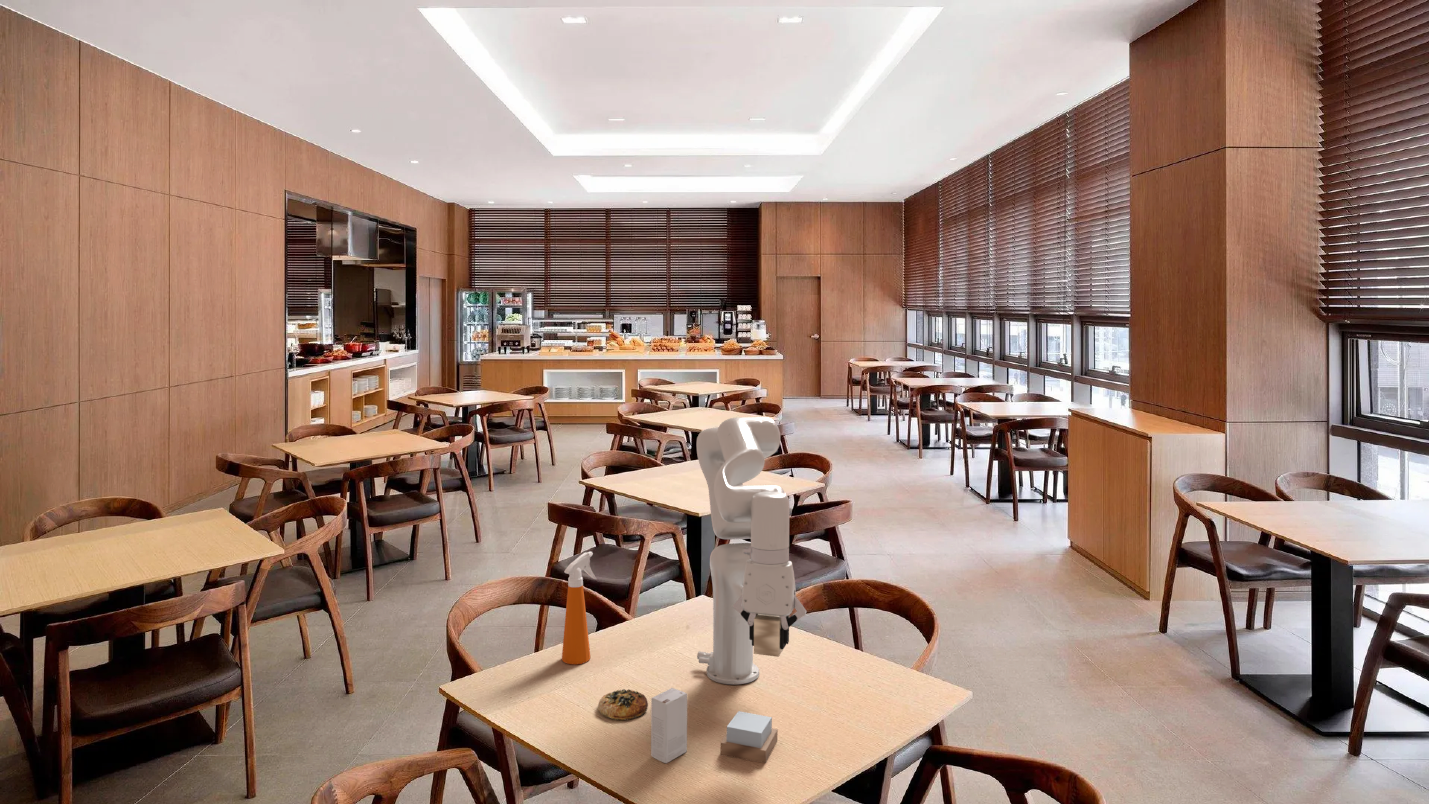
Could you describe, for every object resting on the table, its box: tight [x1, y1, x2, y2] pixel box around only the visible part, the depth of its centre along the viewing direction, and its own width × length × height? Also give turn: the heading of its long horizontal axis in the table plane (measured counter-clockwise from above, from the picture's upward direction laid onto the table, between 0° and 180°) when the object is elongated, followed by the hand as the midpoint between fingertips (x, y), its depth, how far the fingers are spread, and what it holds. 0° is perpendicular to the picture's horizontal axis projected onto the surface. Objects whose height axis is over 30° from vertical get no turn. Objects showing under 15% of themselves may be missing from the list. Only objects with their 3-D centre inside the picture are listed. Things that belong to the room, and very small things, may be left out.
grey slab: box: [726, 710, 773, 748], centre depth 160 cm, size 7×7×3 cm
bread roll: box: [597, 689, 649, 721], centre depth 176 cm, size 11×11×5 cm
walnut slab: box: [720, 727, 779, 764], centre depth 160 cm, size 9×9×3 cm
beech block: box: [753, 614, 784, 658], centre depth 162 cm, size 5×5×7 cm
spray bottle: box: [561, 551, 598, 666], centre depth 204 cm, size 7×11×26 cm, turn 144°
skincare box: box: [650, 687, 688, 764], centre depth 157 cm, size 6×4×12 cm
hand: (769, 644), depth 162 cm, fingers closed on beech block, 5 cm apart
